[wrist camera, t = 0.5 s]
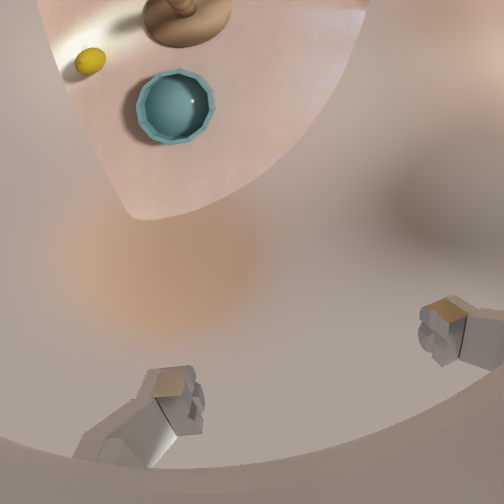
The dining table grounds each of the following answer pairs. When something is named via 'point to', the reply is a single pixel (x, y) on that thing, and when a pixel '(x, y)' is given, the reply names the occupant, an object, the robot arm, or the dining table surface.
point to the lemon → (90, 61)
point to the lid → (186, 20)
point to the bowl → (175, 106)
